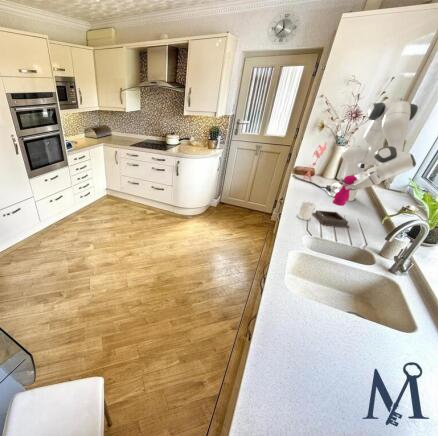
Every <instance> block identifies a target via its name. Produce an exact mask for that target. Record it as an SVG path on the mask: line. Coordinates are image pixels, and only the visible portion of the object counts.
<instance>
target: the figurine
mask: <svg viewBox="0 0 438 436" xmlns="http://www.w3.org/2000/svg"><path fill="white" fill-rule="evenodd" d="M327 144H328V142H327V141H324V143H323V145H321V144H319V145H318V147H317V148H316V149H315V151H314V152H313V155H312V157H314V156H315V157H316V160H315V162H312V164H310V165H309V168H310V169H309V171H307V173H306V174H305V175H303V178H302V179H303V180H306V179H307V177H308V179H309V182H312V180H311V175H312V174H311V171H312V169H313V167H312V166H316V165H317V161H318V160H319V159H321V158H320V157H321V156H323V153H324V152H325V150H326V148H327ZM319 151H320V152H319ZM314 178H316V179H317V177H314ZM303 180H302V181H303ZM318 180H319V182H322V180H320V178H318Z"/></svg>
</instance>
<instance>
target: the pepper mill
mask: <svg viewBox="0 0 438 436" xmlns="http://www.w3.org/2000/svg"><path fill="white" fill-rule="evenodd" d="M355 180H357V178H356V177H355V174H354V173H352V174H351V175H349V176H346V177H345V178H344V183H343V184H342V185H343V186H342V188H341V189H340V190H339V191H338V192H337V193H336V194H335V196H334V197H333V198H334V199H333V200H332V204H334V205H336V206H339V207H343V206H344V207H345V205H346V202H347V201H348V199H349V191H350V189H351V188H350V189H347V190H346V189H345V186H349V185H352V184H353V183H354V181H355ZM348 202H349V201H348Z"/></svg>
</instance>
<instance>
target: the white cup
mask: <svg viewBox="0 0 438 436" xmlns="http://www.w3.org/2000/svg"><path fill="white" fill-rule="evenodd" d="M316 208H317V204H315V203H314V202H312V201H311V202H310V201H306V200H305V201H302V202H301V205H300V207H299V210H298V214H297V217H298V218H299V219H300V220H304V221H308V220H310V218H311V217H312V216H313V215H312V213H315V212H314V211H316Z"/></svg>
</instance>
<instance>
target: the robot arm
mask: <svg viewBox="0 0 438 436" xmlns="http://www.w3.org/2000/svg"><path fill="white" fill-rule="evenodd" d="M418 110H419V107H418V105H417V104H414V103H410V102H409V101H406V100H399V101H395V102H377V103H374V104H373V105H372V106H371V107H370V109H369V110H368V111H367V118H368V120H370V121H371V123H370V124H369V126H368V127H367V129H366V131H365V133H364V135H363V136H362V137H363V142H365V144H367V145H368V146H369V147H363V146H347V147H345V148H344V150H342V152H341V158H342V160H343V162H344V163H345V165H346V169H345V172H344V175H343V177H341V178H339V181H338V182H335V183H332V184H331V185H328V184H327V185H326V186H320V185H318V184H316V183H314V182H312V181H310V180H306V179H304V178H300V177H297V176H296V175H295V174H292V175H291V177H294V178H295V179H297V180H300V181H303V182H305V183H309V184H312V185H315V186H316V187H318V188H320V189H324V191H325V192H326V193H327V194H328V196H329V197H330V198H331V197H332V198H334V196H335V194H336V193H337V192H338V191H339V190H340V189H341V188H342V186H343V185H342V184H343V183H344V178H345V177H346V176H349V175H351V174H352V173H354V174H355V177H356V178H357V180H355V181H354V183H353V184H352V185H349V186H345V189H346V190H347V189H350V188H351V189H350V191H349V199H348V202H353V201H355V200H356V198H357V193H358V191H361V190H363V189H367V188H370V187H372V186H377V185H380V184H381V183H382V182H383V181H385V180H388V179H389V178H392V177H396V176H399V175H402V174H404V173H406V172H409V171H410V170H413V169H414V168H415V167H416V166H417V161H416V159H415V157H414V155H413V154H412V153H410V152H404V149H405V143H406V142H405V141H406V136H407V131H408V127H409V124H410V121H412V120H413V119H414V118H415V116H417V114H418ZM385 139H386V142H387V146H384V142H385ZM359 164H363V165H369V166H373V167H370V168H368V169H367V170H366V171H365V170H364V169H363V168H362V167H360V166H359ZM303 179H304V180H303Z"/></svg>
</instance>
